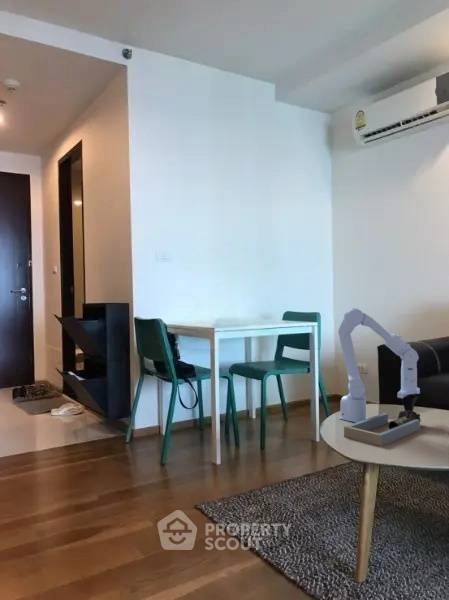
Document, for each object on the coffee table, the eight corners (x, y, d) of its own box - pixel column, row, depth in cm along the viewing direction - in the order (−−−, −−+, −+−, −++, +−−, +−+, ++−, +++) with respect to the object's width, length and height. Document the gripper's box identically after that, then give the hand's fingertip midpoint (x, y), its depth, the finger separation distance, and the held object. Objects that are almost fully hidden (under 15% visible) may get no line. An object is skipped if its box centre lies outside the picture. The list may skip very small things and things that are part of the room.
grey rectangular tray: (344, 436, 164) (344, 426, 164) (384, 421, 183) (384, 412, 183) (380, 446, 154) (380, 435, 154) (419, 429, 173) (419, 420, 173)
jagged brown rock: (400, 435, 167) (400, 419, 166) (383, 431, 172) (382, 415, 171) (423, 425, 178) (423, 410, 178) (406, 421, 183) (406, 407, 183)
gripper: (410, 382, 174) (410, 419, 174) (427, 377, 184) (427, 412, 184) (392, 380, 179) (392, 415, 179) (410, 375, 189) (409, 409, 189)
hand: (408, 413), depth 182 cm, fingers closed
